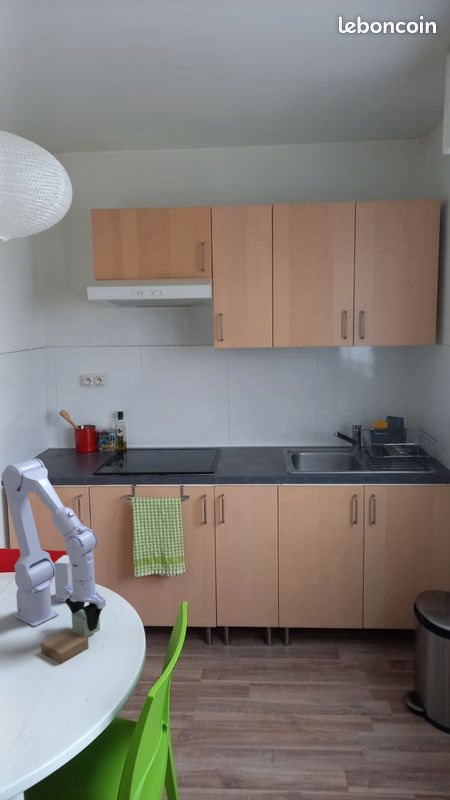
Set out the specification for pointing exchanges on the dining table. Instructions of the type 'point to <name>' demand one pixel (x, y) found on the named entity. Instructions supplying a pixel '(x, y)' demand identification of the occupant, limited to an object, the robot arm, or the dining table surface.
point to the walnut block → (64, 646)
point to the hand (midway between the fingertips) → (86, 626)
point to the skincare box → (62, 577)
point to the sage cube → (82, 624)
